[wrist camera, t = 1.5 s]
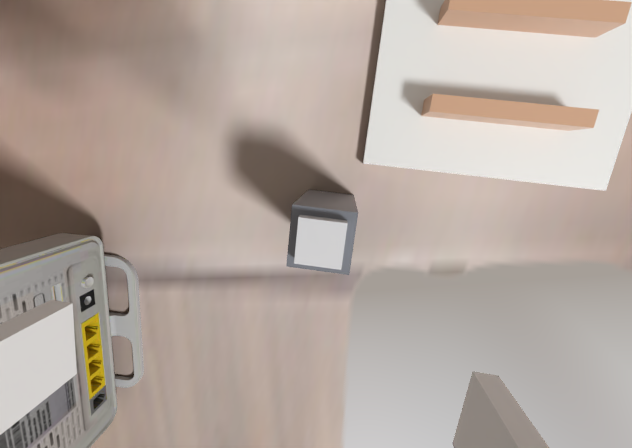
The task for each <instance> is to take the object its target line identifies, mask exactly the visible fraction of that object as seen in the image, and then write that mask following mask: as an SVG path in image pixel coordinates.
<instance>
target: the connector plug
mask: <svg viewBox="0 0 632 448" xmlns="http://www.w3.org/2000/svg"><path fill="white" fill-rule="evenodd" d="M357 217H358V210H357V206H356V202H355V198H354V195H351V194H342V193H334V192H326V191H317V190H308V191H307V192H306V193H304V194H303V195H302V196H301V197H300V198H299V199H298V200H297V201H296V202H294V203H293V204H292V212H291V223H290V234H289V245H288V255H287V266H288V267H295V268H303V269H310V270H317V271H324V272H332V273H339V274H346V275H349V272H350V265H351V258H352V251H353V244H354V238H355V231H356V224H357Z"/></svg>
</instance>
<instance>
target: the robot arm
mask: <svg viewBox="0 0 632 448" xmlns="http://www.w3.org/2000/svg"><path fill="white" fill-rule="evenodd" d="M76 374H77V367H76V351H75V334H74V318H73V303H68V302H62V301H56V300H50V301H48V302H45V303H43V304H41V305H39V306H37V307H35V308H33V309H31V310H29V311H27V312H25V313H23V314H20V315H18V316H16V317H14V318H12V319H10V320H8V321H6V322H4V323H2V324H0V435H1V434H2V433H4V432H5V431H6V430H7V429H9V428H10V427H11V426H12V425H14V424H15V423H16V422H17V421H19V420H20V419H21V418H22V417H24V416H25V415H26V414H27V413H29V412H30V411H31V410H32V409H34V408H35V407H36V406H37V405H39V404H40V403H41V402H42V401H44V400H45V399H46V398H47V397H49V396H50V395H51V394H52V393H54V392H55V391H56V390H57V389H59V388H60V387H61V386H62V385H64V384H65V383H66V382H67V381H68V380H70V379H71V378H72V377H73V376H75V375H76ZM453 446H454V448H549V447H548V445H547V444H546V443H545V441H544V440H543V438H542V437H541V436H540V434H539V433H538V431H537V430H536V428H535V427H534V426H533V424H532V423H531V422H530V420H529V418H528V417H527V416H526V414H525V413H524V411H523V410H522V409H521V407H520V406H519V404H518V403H517V401H516V400H515V399H514V397H513V396H512V394H511V393H510V392H509V390H508V389H507V387H506V386H505V384H504V383H503V382H502V380H501V379H500V378H499V376H496V375H490V374H484V373H479V372H472V376H471V380H470V383H469V387H468V390H467V394H466V397H465V401H464V405H463V408H462V412H461V415H460V419H459V423H458V426H457V430H456V433H455V437H454V440H453Z"/></svg>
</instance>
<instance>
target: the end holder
mask: <svg viewBox="0 0 632 448" xmlns="http://www.w3.org/2000/svg"><path fill="white" fill-rule="evenodd" d="M631 112H632V0H386V2H385V9H384V16H383V23H382V30H381V38H380V45H379V52H378V59H377V66H376V73H375V80H374V87H373V94H372V101H371V108H370V115H369V122H368V130H367V137H366V144H365V151H364V158H363V163H364V164H373V165H382V166H391V167H400V168H409V169H417V170H426V171H435V172H444V173H453V174H462V175H471V176H479V177H488V178H497V179H506V180H515V181H524V182H533V183H542V184H550V185H559V186H568V187H577V188H586V189H595V190H604V191H606V188H607V185H608V182H609V179H610V176H611V173H612V170H613V167H614V164H615V161H616V158H617V155H618V152H619V149H620V146H621V143H622V140H623V136H624V133H625V130H626V127H627V124H628V121H629V118H630V115H631Z"/></svg>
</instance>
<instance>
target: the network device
mask: <svg viewBox="0 0 632 448" xmlns="http://www.w3.org/2000/svg"><path fill="white" fill-rule="evenodd" d="M105 266H112V267H119V268H121V269H123V270H124V271H125V272H126V274H127V281H128V295H129V313H128V314H122V313H113V312H109V306H108V295H107V284H106V272H105ZM50 300H56V301H62V302H68V303H73V318H74V334H75V351H76V367H77V374H76V375H75V376H73V377H72V378H71V379H70V380H68V381H67V382H66V383H65V384H64V385H62V386H61V387H60V388H59V389H57V390H56V391H55V392H54V393H52V394H51V395H50V396H49V397H47V398H46V399H45V400H44V401H42V402H41V403H40V404H39V405H37V406H36V407H35V408H34V409H32V410H31V411H30V412H29V413H27V414H26V415H25V416H24V417H22V418H21V419H20V420H19V421H17V422H16V423H15V424H14V425H12V426H11V427H10V428H9V429H7V430H6V431H5V432H4V433H2V434H1V435H0V448H90V447H91V446H92V445H93V443H94V442H95V441H96V440H97V439H98V438H99V437H100V435H101V434H102V433H103V432H104V431H105V430H106V429H107V428H108V426H109V425H110V424H111V422H112V421H113V419H114V417H115V414H116V411H117V397H116V387H125V388H127V387H131V386H133V385H135V384H136V383H137V382H138V381H139V380H140V379H141V378H142V376H143V373H144V365H143V349H142V333H141V317H140V302H139V286H138V276H137V272H136V270H135V268H134V267H133V265H132V264H131V263H130V262H129V261H127V260H126V259H125V258H122V257H120V256H116V255H107V254H104V250H103V243H102V241H101V240H100V238H98V237H96V236H88V235H78V234H68V233H59V234H55V235H51V236H47V237H44V238H40V239H36V240H32V241H29V242H25V243H21V244H17V245H13V246H10V247H6V248H2V249H0V324H2V323H4V322H6V321H8V320H10V319H12V318H14V317H16V316H18V315H20V314H23V313H25V312H27V311H29V310H31V309H33V308H35V307H37V306H39V305H41V304H43V303H45V302H48V301H50ZM111 336H123V337H126V338H128V339H129V340H130V341H131V343H132V351H133V365H134V377H124V376H117V375H114V363H113V352H112V341H111Z"/></svg>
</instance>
